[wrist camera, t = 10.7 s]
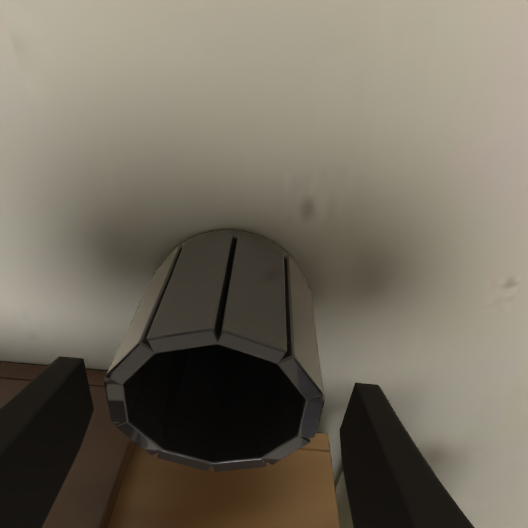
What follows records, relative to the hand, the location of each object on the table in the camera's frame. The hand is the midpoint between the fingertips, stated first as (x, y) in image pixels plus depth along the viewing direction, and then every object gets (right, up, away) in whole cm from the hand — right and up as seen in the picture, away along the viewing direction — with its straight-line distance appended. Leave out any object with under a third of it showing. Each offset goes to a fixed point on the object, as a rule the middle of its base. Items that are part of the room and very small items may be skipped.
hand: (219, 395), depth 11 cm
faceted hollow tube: (0, +2, +4) cm, 4 cm away
